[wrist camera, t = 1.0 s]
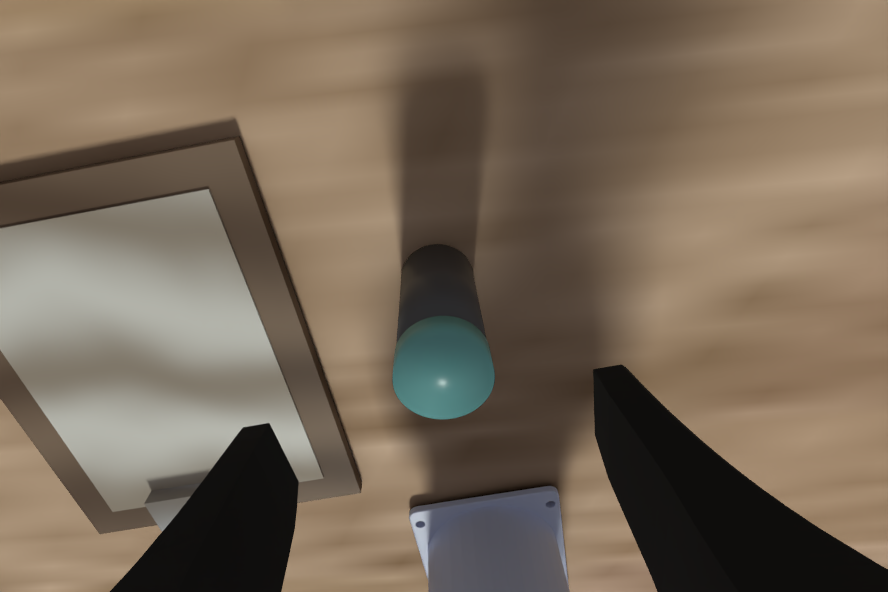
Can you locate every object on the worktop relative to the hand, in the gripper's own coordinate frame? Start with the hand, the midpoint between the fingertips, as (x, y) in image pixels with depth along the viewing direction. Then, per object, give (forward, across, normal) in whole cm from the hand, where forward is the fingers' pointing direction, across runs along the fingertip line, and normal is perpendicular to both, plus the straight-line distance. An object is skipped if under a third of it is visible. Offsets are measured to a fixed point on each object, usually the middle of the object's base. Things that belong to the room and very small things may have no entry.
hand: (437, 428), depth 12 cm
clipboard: (+11, +13, +5) cm, 17 cm away
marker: (+11, 0, +3) cm, 11 cm away
